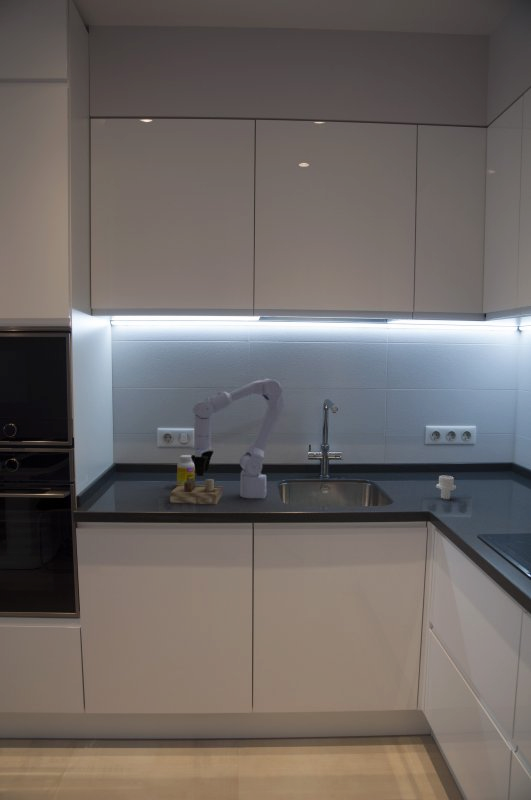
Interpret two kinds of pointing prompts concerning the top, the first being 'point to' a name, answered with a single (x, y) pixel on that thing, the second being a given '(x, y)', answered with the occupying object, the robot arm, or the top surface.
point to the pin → (209, 485)
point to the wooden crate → (195, 497)
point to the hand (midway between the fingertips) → (202, 473)
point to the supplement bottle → (185, 469)
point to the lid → (194, 488)
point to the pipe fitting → (446, 486)
